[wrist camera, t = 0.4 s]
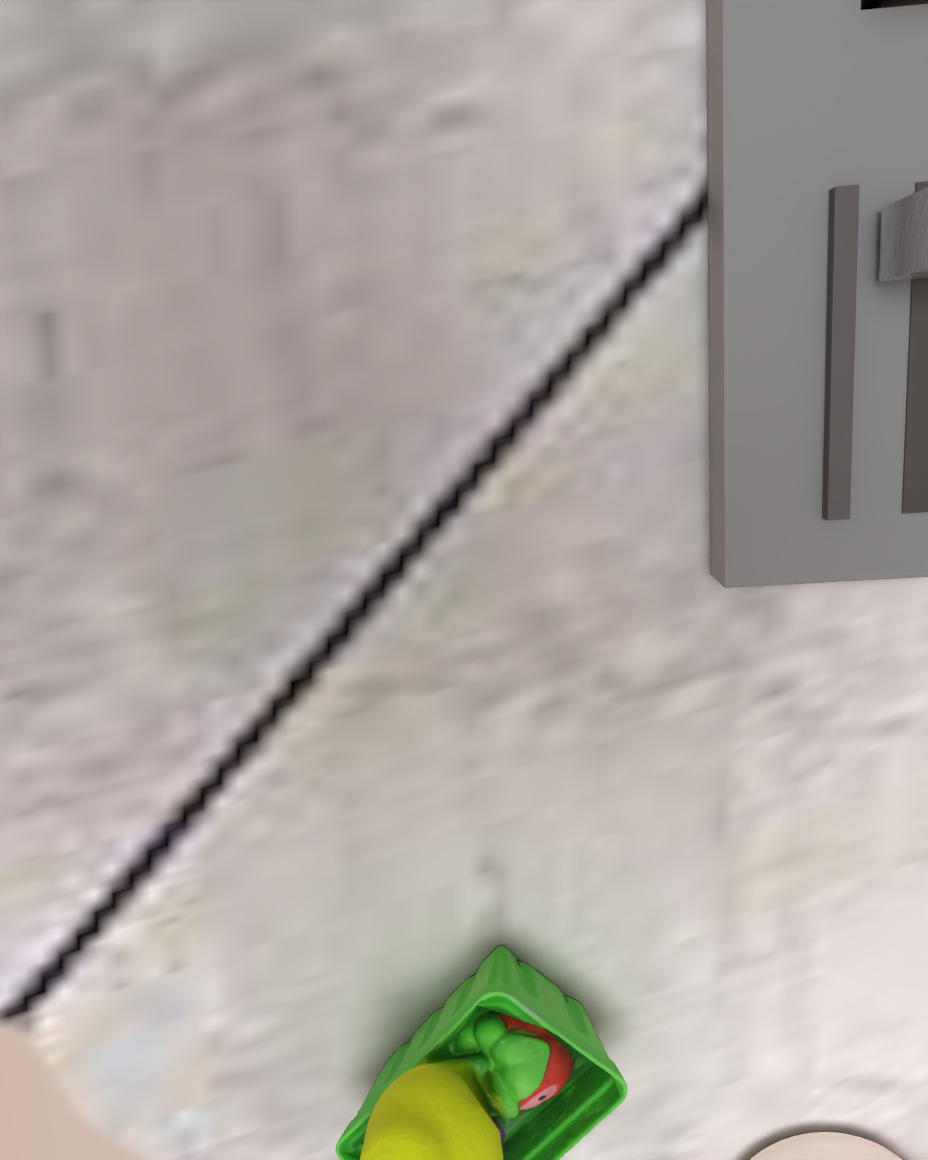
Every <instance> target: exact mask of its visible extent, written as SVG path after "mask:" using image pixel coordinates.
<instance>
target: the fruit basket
mask: <svg viewBox="0 0 928 1160" xmlns="http://www.w3.org/2000/svg"><path fill="white" fill-rule="evenodd" d="M626 1094H627V1085H626V1082H625V1080H624V1079H623V1077H622V1075H621V1073H620V1072H619V1070H618V1068H617V1067H616V1065H615V1064H614V1062H613V1061H612V1060H611V1059H609V1057H608V1055H607V1053H606V1051H605V1049H604V1047H603V1045H602V1043H601V1041H600V1039H599V1037H598V1035H597V1034H596V1032H595V1030H594V1028H593V1026H592V1024H591V1022H590V1020H589V1018H588V1016H587V1014H586V1012H585V1010H584V1008H583V1006H582V1005H581V1003H579V1002H578V1001H576V1000H575V999H572V998H569V997H567V996H566V997H564V994H563V993H562V992H561V990H560V989H559V987H558V986H556V985H555V984H554V983H552V982H551V981H550V980H548V979H547V978H546V977H544V976H543V975H542V974H540V973H539V972H538V971H536V970H535V969H534V968H532V967H531V966H530V965H528V964H526V963H523V962H521V961H516V958H515V957H514V956H513V954H512V953H511V951H510V950H508V949H507V948H505V947H503V946H500V947H497V948H496V949H495V950H494V951H493V952H492V953H491V954H490V955H489V956H488V957H487V958H486V959H485V960H484V961H483V962H482V964H481V965H480V967H479V969H478V971H477V973H476V975H473V976H472V977H470V978H468V979H466V980H465V981H464V982H463V983H462V984H461V985H460V986H459V987H458V988H457V990H455V991H454V992H453V993H452V995H451V996H450V997H449V998H448V999H447V1001H446V1003H445V1005H444V1007H443V1008H442V1009H440V1010H438V1011H436V1012H435V1013H433V1014H432V1015H431V1016H430V1017H429V1018H428V1019H427V1020H426V1021H425V1022H424V1023H423V1025H422V1026H421V1027H420V1028H419V1029H418V1030H417V1031H416V1032H415V1034H414V1036H413V1038H412V1040H411V1042H410V1041H409V1042H408V1043H407V1044H404V1045H402V1046H401V1047H400V1048H399V1049H398V1050H397V1051H396V1052H395V1053H394V1054H393V1055H392V1056H391V1058H390V1059H389V1060H388V1061H387V1062H386V1064H385V1066H384V1067H383V1069H382V1071H381V1073H380V1074H379V1076H378V1078H377V1080H376V1081H375V1083H374V1085H373V1087H372V1089H371V1090H370V1092H369V1094H368V1096H367V1098H366V1100H365V1101H364V1103H363V1105H362V1107H361V1109H360V1110H359V1112H358V1114H357V1116H356V1117H355V1118H354V1119H353V1120H352V1121H351V1122H350V1123H349V1125H348V1126H347V1128H346V1129H345V1131H344V1133H343V1134H342V1136H341V1138H340V1139H339V1141H338V1143H337V1145H336V1153H337V1155H338V1157H339V1158H340V1160H559V1159H560V1158H561V1157H563V1156H564V1154H565V1153H566V1152H568V1151H569V1150H570V1149H571V1148H572V1147H573V1146H574V1145H575V1144H577V1143H578V1142H579V1141H580V1140H581V1139H582V1138H583V1137H584V1136H585V1135H586V1134H588V1133H589V1132H590V1131H591V1130H592V1129H593V1128H594V1127H595V1126H596V1125H597V1124H598V1123H599V1122H600V1121H602V1120H603V1119H604V1118H605V1117H606V1116H607V1115H609V1114H610V1113H611V1112H612V1111H613V1110H614V1109H615V1108H616V1107H617V1106H618V1105H619V1104H620V1103H622V1101H623V1100H624V1099H625V1097H626Z"/></svg>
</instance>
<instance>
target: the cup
mask: <svg viewBox="0 0 928 1160" xmlns="http://www.w3.org/2000/svg"><path fill="white" fill-rule="evenodd" d="M750 1160H902V1159H901V1158H900V1157H898V1156H897V1155H896V1154H894V1153H893V1152H891V1151H890V1150H888V1149H886V1148H885V1147H883V1146H881V1145H879V1144H877V1143H875V1142H872V1141H870V1140H867V1139H864V1138H861V1137H858V1136H853V1135H849V1134H844V1133H836V1132H813V1133H806V1134H800V1135H796V1136H792V1137H789V1138H786V1139H783V1140H781V1141H778V1142H776V1143H774V1144H772V1145H770V1146H768V1147H767V1148H765V1149H763V1150H762V1151H760V1152H759V1153H757V1154H756V1155H755V1156H754V1157H752V1158H751V1159H750Z"/></svg>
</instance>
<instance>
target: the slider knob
mask: <svg viewBox="0 0 928 1160" xmlns="http://www.w3.org/2000/svg"><path fill="white" fill-rule="evenodd" d="M920 278H928V187H926V188H924V189H922V190H920V191H918V192H916V193H913V194H911V195H909V196H907V197H905V198H903V199H900V200H898V201H896V202H894V203H892V204H889V205H887V206H885V207H883V208H882V214H881V243H880V272H879V282H882V281H895V280H908V279H920Z"/></svg>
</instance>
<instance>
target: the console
mask: <svg viewBox="0 0 928 1160" xmlns="http://www.w3.org/2000/svg"><path fill="white" fill-rule="evenodd" d="M706 26H707V158H708V290H709V422H710V554H711V574H712V575H713V576H714V577H715V578H716V579H717V580H718V581H719V582H720V583H721V584H722V585H723V586H724V587H725V588H731V587H749V586H767V585H785V584H804V583H822V582H840V581H858V580H877V579H895V578H913V577H928V278H920V279H908V280H895V281H882V282H879V272H880V243H881V214H882V208H883V207H885V206H887V205H889V204H892V203H894V202H896V201H898V200H900V199H903V198H905V197H907V196H909V195H911V194H913V193H916V192H918V191H920V190H922V189H924V188H926V187H928V4H919V5H909V6H898V7H888V8H878V9H868V10H861V0H706Z"/></svg>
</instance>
